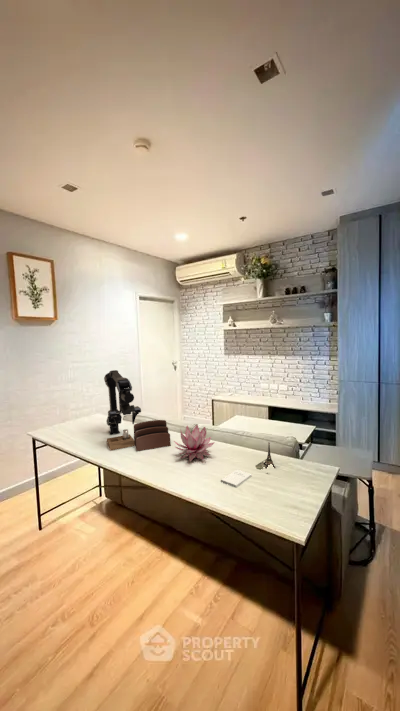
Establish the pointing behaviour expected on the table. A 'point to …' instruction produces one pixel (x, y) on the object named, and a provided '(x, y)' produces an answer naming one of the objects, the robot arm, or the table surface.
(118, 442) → the block
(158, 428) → the letter holder
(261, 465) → the eiffel tower figurine
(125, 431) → the pin
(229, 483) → the external hard drive
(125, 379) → the robot arm
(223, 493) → the table surface
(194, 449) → the decorative flower
